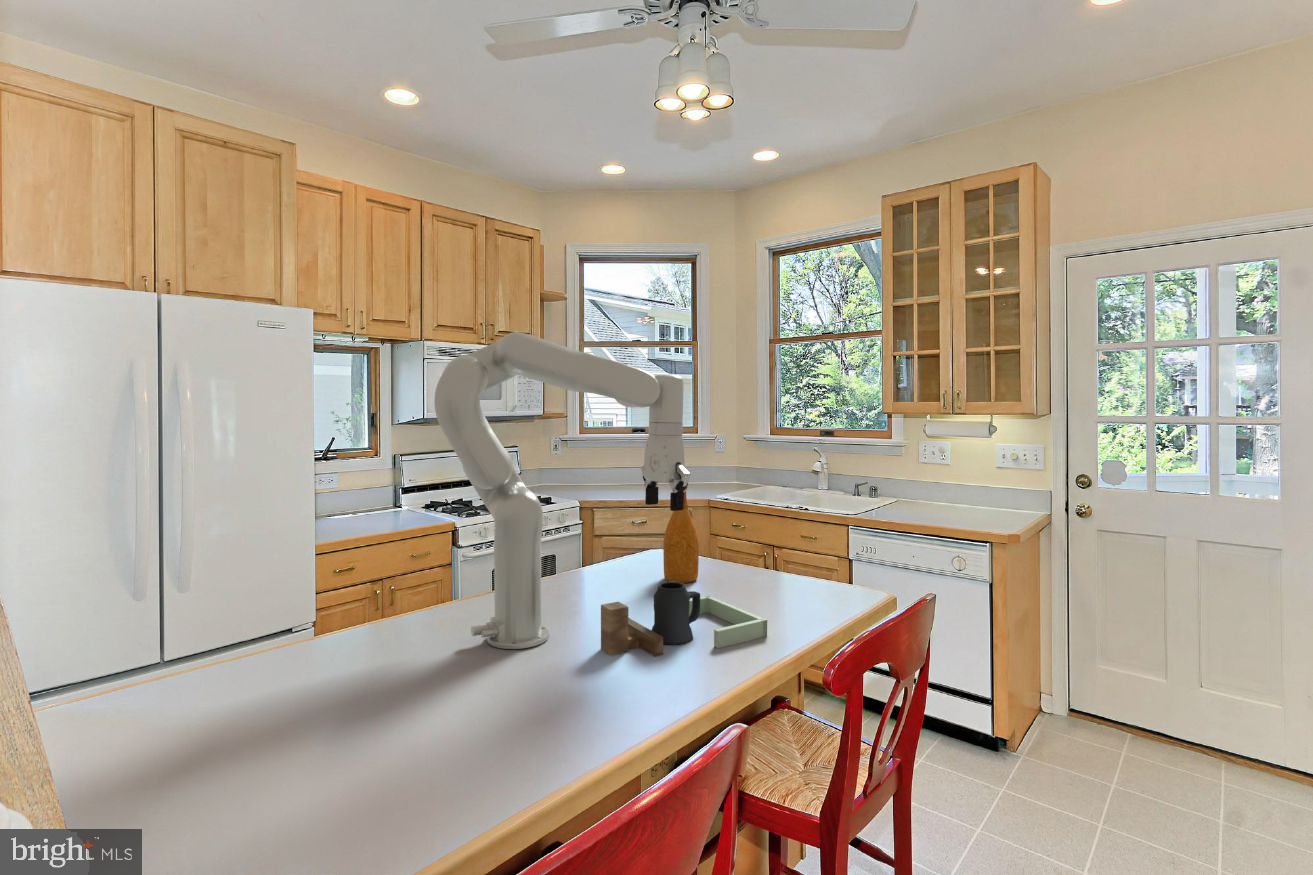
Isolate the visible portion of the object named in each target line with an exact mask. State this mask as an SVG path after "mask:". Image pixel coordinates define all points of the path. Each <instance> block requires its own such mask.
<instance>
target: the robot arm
mask: <svg viewBox="0 0 1313 875" xmlns="http://www.w3.org/2000/svg"><path fill="white" fill-rule="evenodd" d="M518 375H519V376H521V377H525V378H527V379H531V380H535V381H537V382H541V383H544V384H547V385H551V386H554V387H557V388H560V389H563V390H566V391H571V392H576V393H577V392H578V393H586V394H587V393H589V394H595V395H598V396H603V397H607V398H610V399H614V400H615V401H616V402H617V403H618V404H619V405H621V406H623V407H626V408H648V409H649V411H648V414H649V415H648V436H647V437H646V443H645V450H644V460H643V465H642V466H641V469H640V470H641V472H642V479H643V481H644V484H643V485H644V488H645V500H644V501H645V503H644V504H645V505H646V506H652V505H653V506H654V505H658V504H659V486H657V485H658V484H659V483H661V484H667V483H668V484H669V486H670V488H671V491H672V492H670V494H669V495H670V496H669V497H670V503H669V505H670V506H669V510H670V511H671V512H673V511H680V510H683V508H684V492H685V491H686V492H687V489H686V487H687V488H688V486H689V480H690V478H691V473H690V472H689V471H688V470H687V469H686V468H685V467H686V466H685V448H684V447H685V446H684V439H683V438H684V437H683V433H684V432H683V424H684V423H683V422H684V391H685V390H684V389H685V388H684V387H685V386H684V379H683V378H682V377H681V376H680V375H675V374H656V375H653V374H652V373H650V372H648V371H646V370H643V369H640V368H638V367H634V366H631V365H628V364H625V363H622V362H618V361H615V360H611V359H609V358H603V357H601V356H598V355H597V356H596V355H594V354H590V353H587V352H584V351H580V350H578V349H573V348H570V347H568V346H564V345H562V344H561V345H560V344H559V343H555V342H553V341H549V340H546V339H544V338H540V337H538V336H534V335H532V334H528V333H525V332H521V331H519V332H518V331H515V332H509V333H508V334H506V335H504V336H503V337H502V338H500V339H498V340H496V341H493V342H492V343H490V344H488V345H486V346H485V347H484V346H483V347H482V348H480V349H477V350H475V351H473V352H471V353H468V354H465V355H459V356H457V357H455V358H453V359H451V361H449V362H448V363H447V364H446V367H445V368H444V370H443V371H442V373H441V375H440V377H439V380H438V382H437V383H436V387H435V391H434V402H433V403H434V411H435V416H436V420H437V422H438V424H439V427H440V429H441V430H442V432H443V434H444V436H445V437H446V439H447V442H449V444H450V446H451V448H452V450H453V451H454V453H455V454H456V456H457V458H458V459H459V460H460V463H461V465H462V469H463V472H464V474H465V476H466V477H467V479H468V481H469V482H470V484H471V486H472V487H473V489H474V490H475V492H476V493H477V495H478V496H479V498H480V499H481V501H482V503H483V504H484V506H485V507H486V509H487V510H488V512H489V514H490V515H491V517H492V518H493V521H494V533H493V536H494V538H493V541H494V542H493V566H494V567H493V570H494V571H493V572H494V573H493V576H494V577H493V578H494V579H493V580H494V582H493V583H494V584H493V586H494V616H491V617H490V618H489V620H490V621H488V622H485V624H482V625H480V624H479V625H474V626H471V627H470V633H471V636H472V637H476V636H480V637H481V638H486V641H487V642H486V643H488V644H489V645H490V646H491V647H494V648H498V649H504V650H521V649H522V650H523V649H527V648H533V647H536V646H539V645H542V644H543V643H545V642H546V641H548V639H549V637H550V632H549V631H550V630H549V629H548V628H547V627H545V626H543V625H542V536H543V535H542V533H543V522H544V512H543V507H542V504H541V501H540V500H539V498H538V497H537V495H536V494H535V493H534V492H533V491H532V490H530V489H529V488H527V486H526V485H525V483H524V481H523V480H522V478H521V477H520V475H519V473H518V471H517V470H516V468H515V467H514V465H513V459H512V457H511V455H510V454H509V452H508V450H506V448H505V447H504V446H503V444H502V443H501V442H500V440H499V438H498V437H497V435H496V434H495V432H494V430H493V429H492V427H491V424H489V422H488V419H487V418H486V416H485V414H484V413H483V410H482V406H481V401H480V400H481V395H482V394H483V392H485V391H487V390H489V389H492V388H494V387H496V386H499V385H500V384H502V383H504V382H506V381H508V380H510V379H513V378H514V377H516V376H518ZM676 483H678V484H677V486H676Z"/></svg>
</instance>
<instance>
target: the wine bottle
mask: <svg viewBox="0 0 1313 875" xmlns="http://www.w3.org/2000/svg"><path fill="white" fill-rule="evenodd" d="M675 484H676V486H677V484H678V483H675ZM687 490H688V486H687V487H686V491H685V492H684V508H683V510H680V511H672V513H671V516H670V518H669V520H668V523H667V525H666V528H665V531H664V536H663V546H662V547H663V549H662V551H663V552H662V553H663V576H664V579H665V580H666V581H667V582H669V581H674V582H681V583H683V584H687V583H692V582H695V581H696V580H697V579H698V576H699V561H700V560H699V558H700V557H699V555H700V554H699V552H700V549H699V548H700V545H699V544H700V542H699V534H698V530H697V527H696V525H695V522H694V519H695V516H694V512H693V508H691V507H690V508H689V504H688V500H687Z"/></svg>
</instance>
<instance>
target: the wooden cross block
mask: <svg viewBox="0 0 1313 875" xmlns="http://www.w3.org/2000/svg"><path fill="white" fill-rule="evenodd" d="M651 630H652V629H649V628H648V627H646V626H644V625H642V624H640V623H639V622H637V621H636V620H634V619H632V618H630V617H629V606H627V605H626V604H624V603H622V602H620V601H614V602H610V603H603V604H600V650H602V651H603V652H604V653H606V654H608V655H609V656H614V655H619V654H623V653H627V652H629V651H630V650H634V649H636V648H637V649H638V648H640V649H641V650H643V651H644V652H646V653H648V654H650V655H651V656H652V657H655V658H656V657H659V656H662V655H664V645H663V637H662V636H660V635H659V634H657V633H655V632H653V631H651Z"/></svg>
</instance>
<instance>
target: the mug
mask: <svg viewBox="0 0 1313 875" xmlns="http://www.w3.org/2000/svg"><path fill="white" fill-rule="evenodd" d="M685 584H686V583H681V582H674V581H663V582H660V583H659V584H658V586H657V589H656V590H655V592H654V593H653V612H654V613H653V614H654V615H653V620H654V621H653V625H652V627H651V629H650V630H651V631H653V632H655V633H657V634H659V635H660V636H662V637H663V646H669V647H670V646H673V647H675V646H682V645H687V644H689V643H691V642H692V641H693V640H694V635H693V630H692V627H691V626H690V624H691V623H694V622H695V621H697V619H698V618H699V616H700V614H699V613H700V597H701V593H700V592H697V591H694V590H692V591H688V589H687V588H686V585H685ZM690 599H692V611H691V614H690V616H689V608H690Z"/></svg>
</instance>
